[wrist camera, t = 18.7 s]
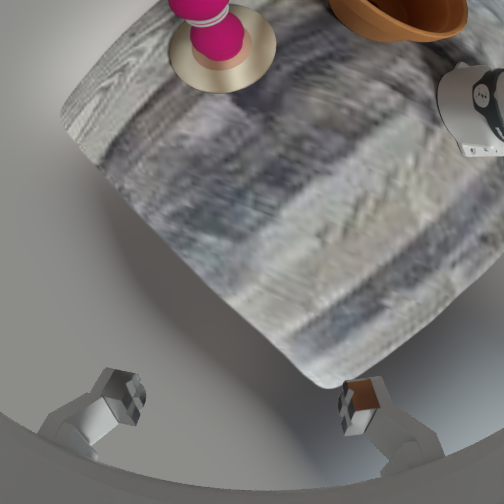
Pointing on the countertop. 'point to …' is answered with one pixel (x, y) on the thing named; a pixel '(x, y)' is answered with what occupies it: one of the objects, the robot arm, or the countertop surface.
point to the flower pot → (402, 18)
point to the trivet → (230, 71)
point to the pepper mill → (211, 27)
